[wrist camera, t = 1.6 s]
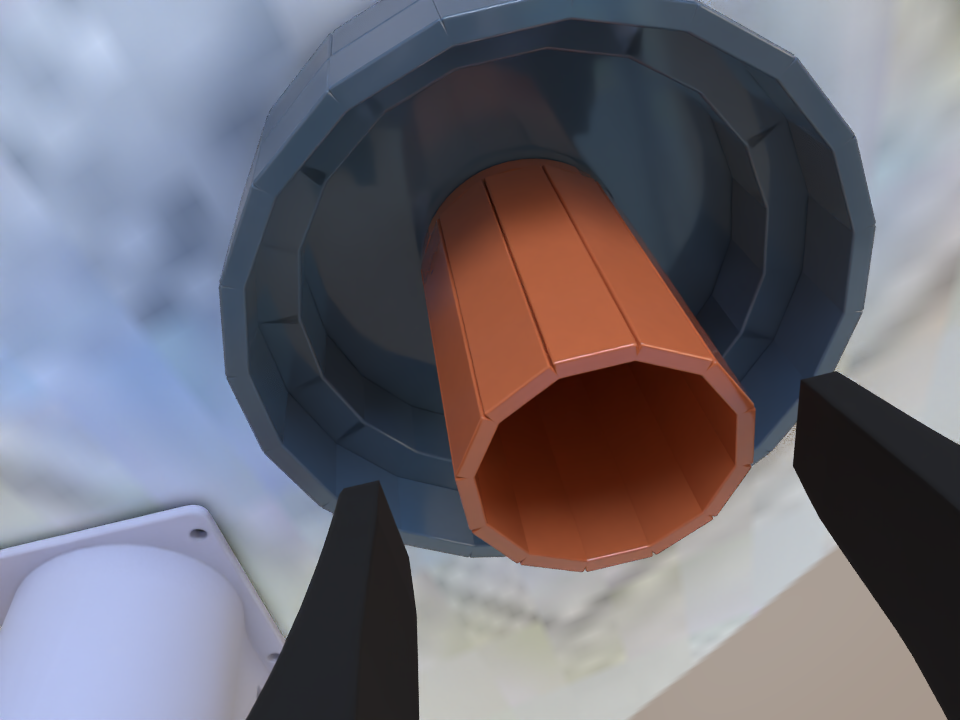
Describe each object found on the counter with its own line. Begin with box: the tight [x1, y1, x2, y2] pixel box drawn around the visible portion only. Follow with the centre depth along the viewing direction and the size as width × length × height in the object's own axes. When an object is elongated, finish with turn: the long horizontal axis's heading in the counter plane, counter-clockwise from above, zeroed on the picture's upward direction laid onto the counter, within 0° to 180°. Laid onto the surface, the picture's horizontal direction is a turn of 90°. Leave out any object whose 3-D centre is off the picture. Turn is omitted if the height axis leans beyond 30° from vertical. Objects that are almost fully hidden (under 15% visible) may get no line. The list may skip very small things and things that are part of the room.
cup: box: [421, 158, 756, 572], centre depth 17 cm, size 5×5×8 cm
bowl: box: [219, 0, 876, 558], centre depth 19 cm, size 14×14×4 cm
